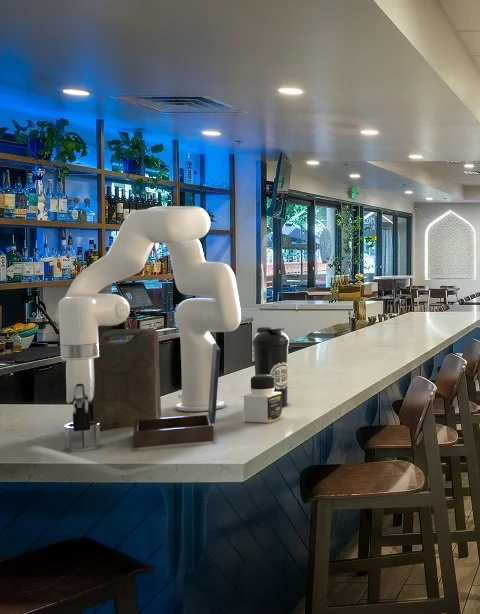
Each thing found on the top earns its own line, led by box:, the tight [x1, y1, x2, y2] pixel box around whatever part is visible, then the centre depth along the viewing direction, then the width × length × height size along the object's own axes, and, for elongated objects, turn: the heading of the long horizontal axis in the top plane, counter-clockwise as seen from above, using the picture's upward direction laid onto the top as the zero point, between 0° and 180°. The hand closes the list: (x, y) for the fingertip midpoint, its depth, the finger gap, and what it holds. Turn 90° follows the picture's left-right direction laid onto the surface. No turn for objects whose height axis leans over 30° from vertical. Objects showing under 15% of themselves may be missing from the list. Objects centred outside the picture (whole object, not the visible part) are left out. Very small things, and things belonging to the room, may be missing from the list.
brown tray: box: [132, 414, 214, 449], centre depth 187 cm, size 17×15×4 cm
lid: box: [207, 342, 221, 425], centre depth 190 cm, size 17×15×1 cm
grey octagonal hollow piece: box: [63, 421, 101, 449], centre depth 179 cm, size 7×7×6 cm
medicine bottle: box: [243, 375, 283, 424], centre depth 211 cm, size 7×7×12 cm
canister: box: [91, 327, 162, 432], centre depth 200 cm, size 19×8×25 cm, turn 106°
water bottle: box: [251, 326, 290, 408], centre depth 230 cm, size 10×10×23 cm
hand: (84, 425), depth 180 cm, fingers open, 9 cm apart
